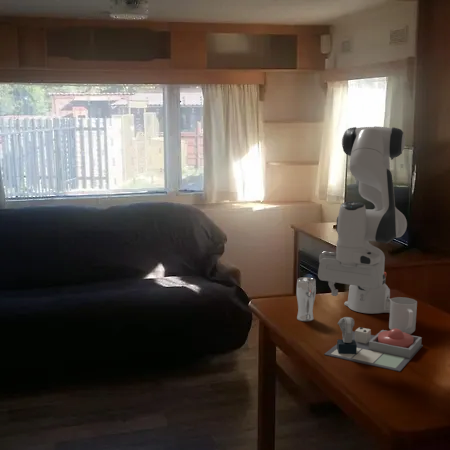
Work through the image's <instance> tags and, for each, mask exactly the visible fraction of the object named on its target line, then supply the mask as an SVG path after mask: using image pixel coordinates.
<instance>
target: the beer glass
mask: <svg viewBox="0 0 450 450" xmlns="http://www.w3.org/2000/svg"><path fill="white" fill-rule="evenodd" d="M316 285H317V284H316V279H315V278H313V277H304V276H303V277H299V278H297V281H296V299H297V309H298V311H297V316H296V319H297V320H298V321H300V322H312V321H314V313H313V311H314V304H315V299H316V295H317V294H316V292H317V289H316V288H317V287H316Z"/></svg>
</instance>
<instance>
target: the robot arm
mask: <svg viewBox="0 0 450 450" xmlns="http://www.w3.org/2000/svg"><path fill="white" fill-rule="evenodd" d="M405 146H406V137H405V134H404V131H403V130H402V129H400V128H398V127H387V126H386V127H385V126H364V127H356V126H355V127H348V129H346V130H345V131H344V133H343V136H342V138H341V147H342V150H343V152H344V154H346V156H349V171H350V174H351V175H352V176H353V177H354V178H355V179H356V180H357V181H358V194H359V195H360V197H361V198H362V199H364V200H366V201H368V202H370V203H372V204H373V205H374V208H373V209H367V208H366V204H365V203H363V202H360V201H356V200H355V201H354V200H353V201H352V200H349V201H345V202H343V203H342V204H341V205H340V207H339V212H338V215H337V217H336V227H335V229H336V230H335V231H336V232H337V241H336V249H335V250H336V251H335V252H333V251H327V250H325V251H323V252H321V253H320V254H319V256H318V262H319V264H318V270H317V277H318V279H319V280H320V281H324V282H328V286H329V288H330V291H331V292H330V293H331V294H330V295H331V296H334V297H337V296H338V295H339V293H338V292H339V289H336V286H335V284H336V283H338V284H342V285H343V284H344V285H349V287H348V289H349V290H348V297H347V300H346V301H345V302H344V306H345V307H348V308H349V309H350V310H352V311H354V312H358V313H363V314H383V313H385V314H387V313H388V314H390V300H391V299H392V298H390V297H391V289H390V287H388V285H387V284H386V278H387V272H386V271H385V261H386V260H385V259H386V257H385V253H384V252H383V251H382V250H381V249H380V248H379V247H377V246H374V245H373V244H371V242H375V243H376V242H377V243H384V244H388V243H390V242H391V241H393V240H394V239H396V238H401V237H402V236H403V235H404V234H405V232H406V231H407V227H408V221H407V219H406V216H405V214H403V212H401V211H400V210H399V209H398V208H397V207H396V202H395V188H394V182H393V175H392V171H391V170H390V169H391V168H390V167H391V166H390V164H391V163H390V162H391V161H390V159H391V160H394V159H395V158H397V157H399V156H401V155H402V154H403V152H404V150H405ZM370 241H371V242H370Z"/></svg>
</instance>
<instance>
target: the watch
mask: <svg viewBox="0 0 450 450" xmlns="http://www.w3.org/2000/svg"><path fill="white" fill-rule="evenodd" d="M337 325H339V328H340V331H341V332H342V335H341V336H342V339H340V338H338V339H337V341H336V342H337V343H336V344H337V350H338V353H339V354H356V350H357V344H356V342H355V340H352V337H353V334H352V332H353V328H354V327H355V319H354V318H353V317H350V316H344V317H341V318H340V319H339V320H338V322H337Z"/></svg>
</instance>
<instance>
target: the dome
mask: <svg viewBox="0 0 450 450" xmlns="http://www.w3.org/2000/svg"><path fill="white" fill-rule="evenodd" d="M379 332H380V331H379ZM379 332H378V333H379ZM378 333H377V334H378ZM411 335H412V334H408V333H404V332H402V331H401V330H400V329H397V328H394V329H391V330H390V329H389V330H386V331H383V332H380V333H379V334H378V342H379V343H384V344H389V345H393V346H398V347H403V348H409V347H410V346H411V345H412V344H413V339H414V338H413V336H414V335H412V336H411Z"/></svg>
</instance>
